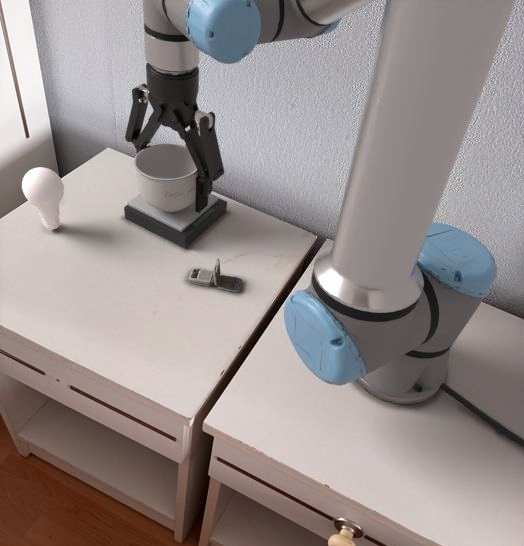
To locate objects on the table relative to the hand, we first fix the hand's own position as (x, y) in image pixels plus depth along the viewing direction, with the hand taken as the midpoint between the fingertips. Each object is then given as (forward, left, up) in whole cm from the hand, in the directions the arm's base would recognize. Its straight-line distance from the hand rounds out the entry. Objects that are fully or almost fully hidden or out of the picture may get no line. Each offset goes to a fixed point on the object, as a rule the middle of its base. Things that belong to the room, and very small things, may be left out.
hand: (174, 195), depth 90 cm
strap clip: (-15, +10, -4) cm, 19 cm away
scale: (0, 0, -4) cm, 4 cm away
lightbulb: (+14, +16, -4) cm, 21 cm away
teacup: (0, 0, 0) cm, 0 cm away
